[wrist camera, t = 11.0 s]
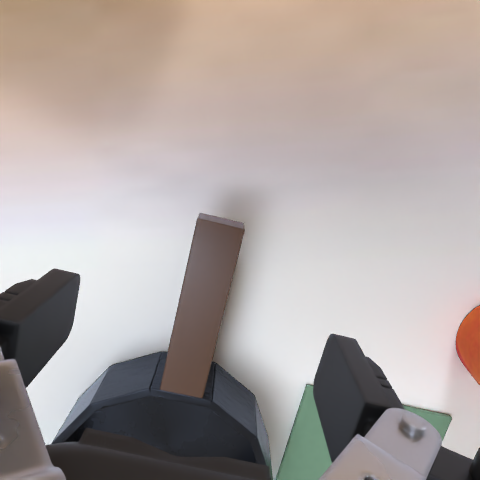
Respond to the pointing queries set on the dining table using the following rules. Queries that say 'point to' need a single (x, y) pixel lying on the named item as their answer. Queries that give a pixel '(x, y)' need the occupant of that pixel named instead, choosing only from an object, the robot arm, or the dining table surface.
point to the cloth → (314, 444)
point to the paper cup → (470, 343)
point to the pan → (183, 372)
